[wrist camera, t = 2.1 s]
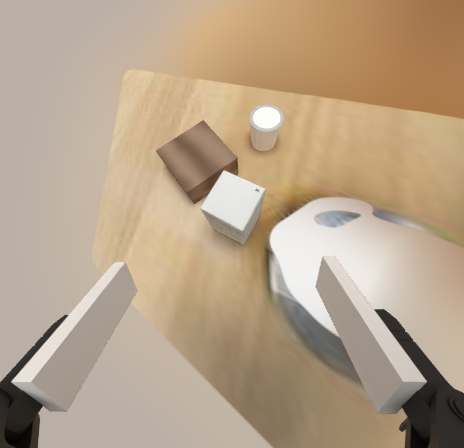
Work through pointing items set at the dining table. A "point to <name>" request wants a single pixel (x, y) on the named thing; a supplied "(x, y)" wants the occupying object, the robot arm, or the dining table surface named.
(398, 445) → the dining table surface
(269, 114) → the white cylinder
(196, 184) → the walnut block
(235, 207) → the supplement box
